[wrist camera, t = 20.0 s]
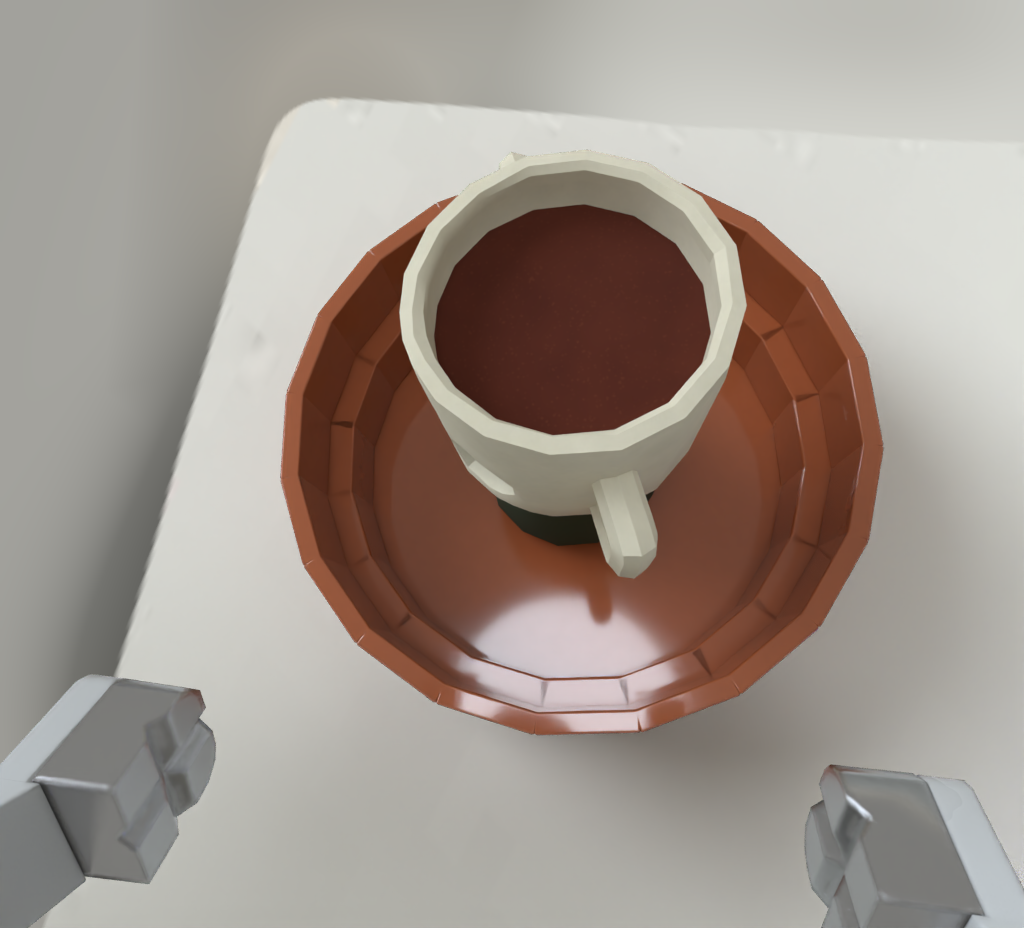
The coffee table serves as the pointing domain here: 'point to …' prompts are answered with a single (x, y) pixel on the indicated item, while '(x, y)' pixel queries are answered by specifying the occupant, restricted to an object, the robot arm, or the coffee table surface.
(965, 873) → the robot arm
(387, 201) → the coffee table surface
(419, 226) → the bowl
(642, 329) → the character mug
